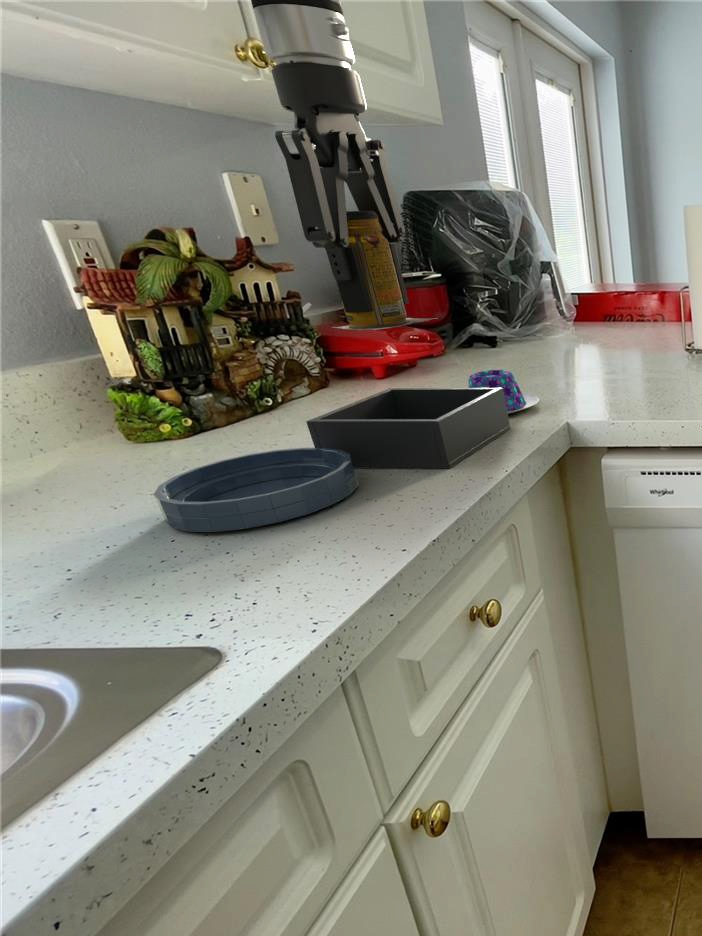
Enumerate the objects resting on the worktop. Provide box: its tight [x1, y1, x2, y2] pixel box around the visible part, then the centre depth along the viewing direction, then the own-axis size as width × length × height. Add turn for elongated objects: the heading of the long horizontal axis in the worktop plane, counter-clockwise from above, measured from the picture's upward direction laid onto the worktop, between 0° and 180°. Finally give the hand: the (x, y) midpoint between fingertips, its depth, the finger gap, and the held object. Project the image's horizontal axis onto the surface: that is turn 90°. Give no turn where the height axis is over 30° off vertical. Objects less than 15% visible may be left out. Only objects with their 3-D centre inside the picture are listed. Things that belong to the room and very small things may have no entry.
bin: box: [305, 387, 512, 470], centre depth 87 cm, size 16×16×6 cm
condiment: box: [331, 210, 437, 331], centre depth 79 cm, size 7×8×12 cm
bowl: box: [153, 447, 359, 533], centre depth 72 cm, size 16×16×3 cm
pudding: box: [467, 369, 540, 415], centre depth 104 cm, size 12×12×5 cm
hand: (378, 307), depth 80 cm, fingers closed on condiment, 6 cm apart
